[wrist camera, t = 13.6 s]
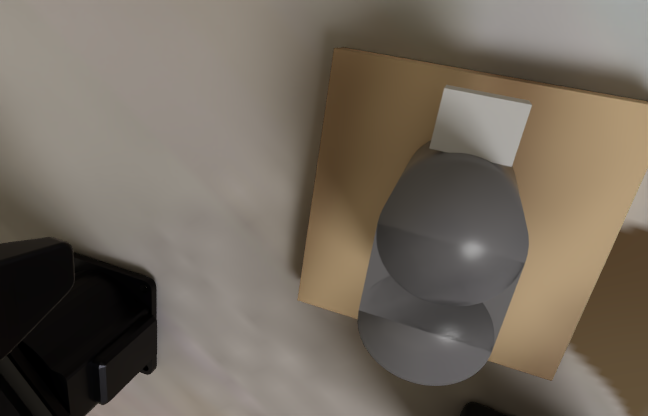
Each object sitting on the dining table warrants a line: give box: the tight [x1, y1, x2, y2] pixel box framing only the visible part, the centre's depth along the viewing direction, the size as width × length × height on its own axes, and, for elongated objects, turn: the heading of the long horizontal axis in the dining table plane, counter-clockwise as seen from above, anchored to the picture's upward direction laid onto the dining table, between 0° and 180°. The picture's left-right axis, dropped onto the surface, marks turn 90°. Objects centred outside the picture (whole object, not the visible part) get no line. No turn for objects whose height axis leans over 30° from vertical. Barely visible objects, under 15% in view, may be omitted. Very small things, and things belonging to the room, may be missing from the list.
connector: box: [358, 85, 532, 386], centre depth 15 cm, size 4×9×5 cm, turn 171°
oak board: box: [298, 47, 648, 381], centre depth 18 cm, size 11×11×1 cm
